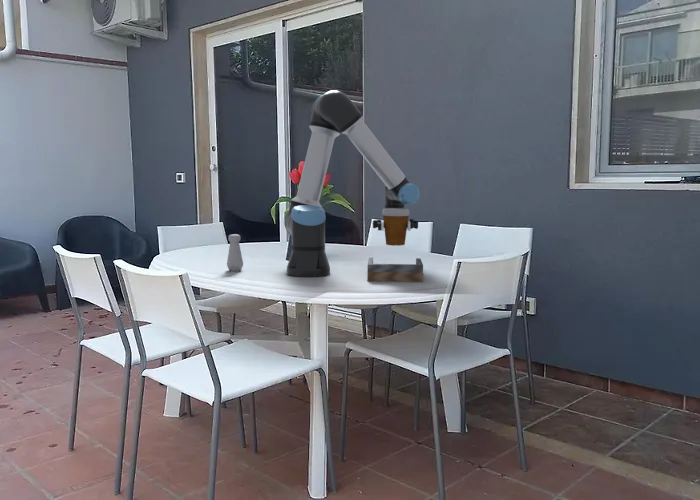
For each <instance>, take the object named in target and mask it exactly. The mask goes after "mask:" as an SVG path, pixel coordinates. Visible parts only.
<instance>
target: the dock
mask: <svg viewBox="0 0 700 500" xmlns="http://www.w3.org/2000/svg"><path fill="white" fill-rule="evenodd" d="M367 261H368V262H367V272H366V273H367V274H366V275H367V276H366V277H367V278H366V279H367V280H366V281H367V282H392V281H393V282H399V283H400V282H405V283H406V282H408V283H423V281H424V263H423V262H422V258H421V257H419V258H418V257H417V258H416V259H415V264H409V263H408V264H407V263H405V264H404V263H403V264H402V263H374V257H368V260H367Z"/></svg>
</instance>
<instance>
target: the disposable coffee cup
mask: <svg viewBox="0 0 700 500" xmlns="http://www.w3.org/2000/svg"><path fill="white" fill-rule="evenodd" d="M381 214H382V215H381V216H382V220H384V236H385V237H384V238H385V245H387V246H393V247H394V246H397V247H399V246H405V244H406V239H407V238H406V237H407V232H408V229H407V224H408V221H409V217H410V214H411V212H410V210H409V208H404V209H403V208H386V209H385V208H383V209H382V212H381Z"/></svg>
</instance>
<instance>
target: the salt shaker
mask: <svg viewBox="0 0 700 500" xmlns="http://www.w3.org/2000/svg"><path fill="white" fill-rule="evenodd" d="M228 242H229V247H228V248H229V249H228V255H227V260H226V261H227V262H226V267H227V268H228V271H229V270H231V271H230V272H240V271H239V270H241V271H242V269H243V267H244V261H243V260H244V259H243V256H242V251H241V245H240V242H241V235H240V234H237V233H234V234H233V233H232V234H229V235H228Z"/></svg>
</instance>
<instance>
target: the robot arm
mask: <svg viewBox="0 0 700 500" xmlns="http://www.w3.org/2000/svg"><path fill="white" fill-rule="evenodd" d="M310 115H311V118H310V122H309V125H308V128H309V130H310V131H311V136H310V138H309V143H308V148H307V152H306V154H305V158H304V159H305V160H304V164H303V169H302V172H301V176H300V180H299V185H298V189H297V193H296V196H295V197H293V198H292V199H290V203H289V207H288V211H287V213H286V214H285V216H284V220H283V224H284V228H285V230H286V232H287V234H288V235H289V236H290V237H291V252H290V256H289V259H288V263H287V265H286V274H287V275H288V276H293V277H303V278H305V277H307V278H310V277H323V276H327V275H330V274H331V266H330V262H329V260H328V257H327V253H326V217H327V216H326V210H325V209H324V208H323V207H322V205H321V203H320V199H321V195H322V192H323V187H324V184H325V179H326V176H327V171H328V169H329V168H328V167H329V163H330V159H331V155H332V150H333V146H334V142H335V139H336V138H337V137H339V136H340V135H341V134H342V135H346V136H347V138H348V139H349V140H350V142H351V143H352V144H353V145H354V147H355V148H356V149H357V151H358V152H359V153H360V155H362V157H363V158H364V159H365V161H366V162H367V163H368V165H369V167H370V168H372V169H373V171H374V172H375V174H376V175H377V176H378V178H379V179H380V180H381V181H382V182H383V183H384V187H383V188H384V209H386V208H403V209H405V206H409V205H414V204H415V203H417V202H418V201H419V198H420V195H421V193H420V189H419V187H418V186H417V185H416V184H413V183H412V182H411V181H410V180H409V179H408V178H407V177H406V175H405V174H404V173H403V171H402V170H401V169H400V166H398V165H397V164H396V162H395V160H394V159H393V158H392V157H391V156H390V154H389V153H388V151H387V150H386V149H385V148H384V146H382V143H381V142H380V141H379V140H378V139H377V137H376V136H375V134H374V133H373V132H372V131H371V129H370V128H369V127H368V125H367V124H366V123H365V122H364V115H363V114H362V113H361V112H360V110H359V109H358V108H357V106H356V105H355V103H354V102H353V101H352V99H350V97H349V96H348V95H347V94H346V93H344V92H342V91H340V90H336V89H335V90H329V91H326V92H325V93H324V94H322V95H319V96H318V97H317V98H316V99H315V100H314V101H313V103H312V106H311V108H310ZM372 228H373V229H377V231H384V232H385V229H384V220H383V219H381V218H375V219H374V220H372ZM412 229H416V230H418V229H419V221H418V220H416V219H414V218H410V219H409V218H408V224H407V232H411V230H412Z"/></svg>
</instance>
